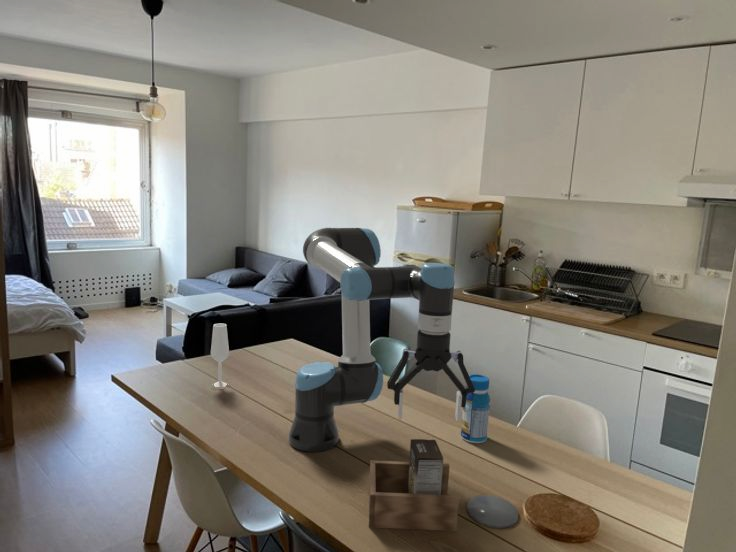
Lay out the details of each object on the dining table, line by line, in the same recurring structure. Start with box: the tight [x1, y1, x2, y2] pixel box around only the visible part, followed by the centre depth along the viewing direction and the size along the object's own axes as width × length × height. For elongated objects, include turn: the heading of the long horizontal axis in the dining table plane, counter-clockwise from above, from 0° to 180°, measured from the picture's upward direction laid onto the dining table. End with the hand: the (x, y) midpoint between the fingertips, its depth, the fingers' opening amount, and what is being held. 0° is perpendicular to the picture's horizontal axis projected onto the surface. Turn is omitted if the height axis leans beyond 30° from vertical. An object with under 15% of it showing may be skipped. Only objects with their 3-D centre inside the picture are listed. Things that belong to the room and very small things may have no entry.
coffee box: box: [408, 438, 444, 495], centre depth 126 cm, size 9×6×16 cm
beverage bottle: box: [460, 373, 491, 444], centre depth 164 cm, size 8×8×20 cm
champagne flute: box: [210, 323, 230, 387], centre depth 197 cm, size 7×7×24 cm
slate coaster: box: [466, 494, 519, 529], centre depth 127 cm, size 12×12×1 cm
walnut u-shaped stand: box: [368, 459, 460, 532], centre depth 126 cm, size 20×15×8 cm
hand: (428, 418), depth 123 cm, fingers open, 13 cm apart
